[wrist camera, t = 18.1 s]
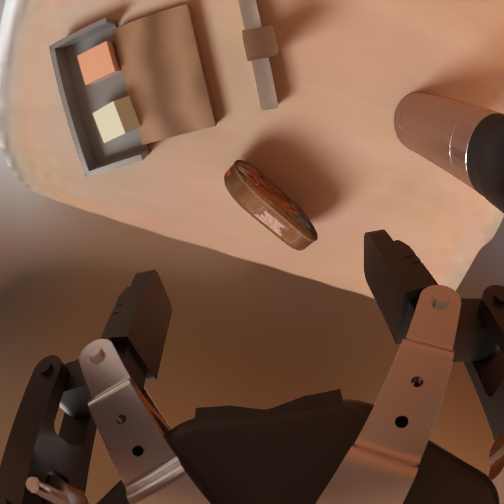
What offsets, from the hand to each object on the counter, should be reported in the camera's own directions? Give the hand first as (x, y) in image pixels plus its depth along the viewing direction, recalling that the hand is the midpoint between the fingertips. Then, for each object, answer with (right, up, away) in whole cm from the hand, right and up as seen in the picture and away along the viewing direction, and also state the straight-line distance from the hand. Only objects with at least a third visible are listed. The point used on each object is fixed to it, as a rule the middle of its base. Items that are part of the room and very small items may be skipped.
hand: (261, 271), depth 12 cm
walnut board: (-11, +24, +23) cm, 35 cm away
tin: (+2, +9, +33) cm, 34 cm away
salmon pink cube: (-20, +26, +21) cm, 39 cm away
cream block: (-17, +18, +24) cm, 35 cm away
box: (-21, +22, +24) cm, 38 cm away
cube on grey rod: (0, +26, +22) cm, 34 cm away
